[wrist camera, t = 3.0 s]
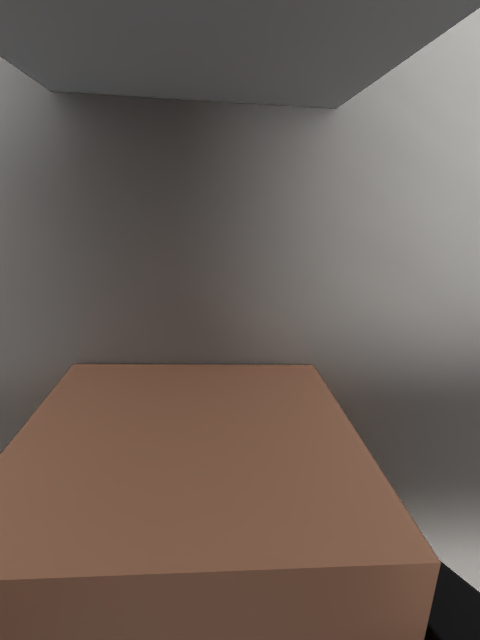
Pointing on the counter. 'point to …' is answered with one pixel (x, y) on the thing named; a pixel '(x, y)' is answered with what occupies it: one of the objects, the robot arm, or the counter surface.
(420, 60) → the counter surface
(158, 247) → the counter surface
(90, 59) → the slate cube
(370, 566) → the terracotta cube
